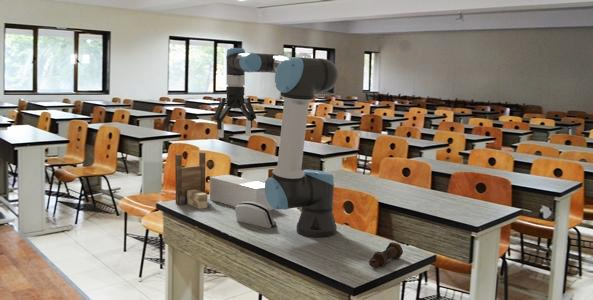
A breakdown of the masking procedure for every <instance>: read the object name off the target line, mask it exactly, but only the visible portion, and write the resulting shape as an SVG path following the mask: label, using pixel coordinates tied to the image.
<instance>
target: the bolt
mask: <svg viewBox="0 0 593 300" xmlns="http://www.w3.org/2000/svg"><path fill="white" fill-rule="evenodd" d="M403 253H404V251H403V248H402V246H401V244H400V243H398V242H393V241H391V242H389V243H388V245H387V247H386V248H385V250H383V251H377V250H376V251H375V253H374V254H373V255H372V257H371V258H370V259H369V260H368V264H369V266H370V267H371V268H373V269H375V268H378V267H380V266H381V268H382V267H384V266H386V264H387V263H388V261H390V260H391V259H395V260H399V259H400V258H401V257H402V255H403Z"/></svg>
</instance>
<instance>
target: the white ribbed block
mask: <svg viewBox="0 0 593 300" xmlns="http://www.w3.org/2000/svg"><path fill="white" fill-rule="evenodd" d="M264 185H265V182H262V181H257V180H254V179H253V180H252V179H249V178H245V177H240V176H236V175H232V174H224V175H223V174H222V175H217V176H209V200H211V201H214V202H217V203H221V204H223V203H224V205H227V204H228V206H230V205H231V207H233V206H234V207H233V208H235V207H236V206H237V205H239V203H241V202H256V203H259V204H262V205H264V206H266V207H268V208H269V209H270V211H273V210H275V209H274V208H272V207H271V206H270V204H269V203H268V201H267V199H266V196H265V191H264Z"/></svg>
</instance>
